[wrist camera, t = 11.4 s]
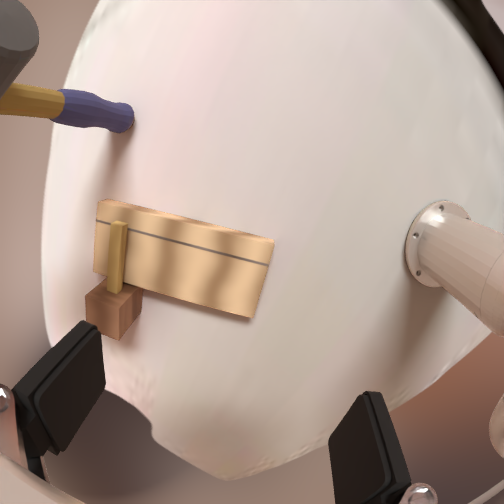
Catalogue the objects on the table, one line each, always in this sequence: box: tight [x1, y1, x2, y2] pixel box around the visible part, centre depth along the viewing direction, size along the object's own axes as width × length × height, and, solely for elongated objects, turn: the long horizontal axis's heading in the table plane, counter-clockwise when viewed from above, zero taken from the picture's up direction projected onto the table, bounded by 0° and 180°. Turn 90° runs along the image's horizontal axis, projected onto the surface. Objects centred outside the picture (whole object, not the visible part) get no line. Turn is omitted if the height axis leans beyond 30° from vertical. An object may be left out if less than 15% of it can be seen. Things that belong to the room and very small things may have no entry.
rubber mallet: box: [0, 0, 134, 133], centre depth 17 cm, size 12×8×30 cm, turn 116°
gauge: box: [85, 221, 143, 340], centre depth 34 cm, size 5×14×8 cm, turn 166°
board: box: [93, 199, 274, 318], centre depth 36 cm, size 23×10×3 cm, turn 76°
